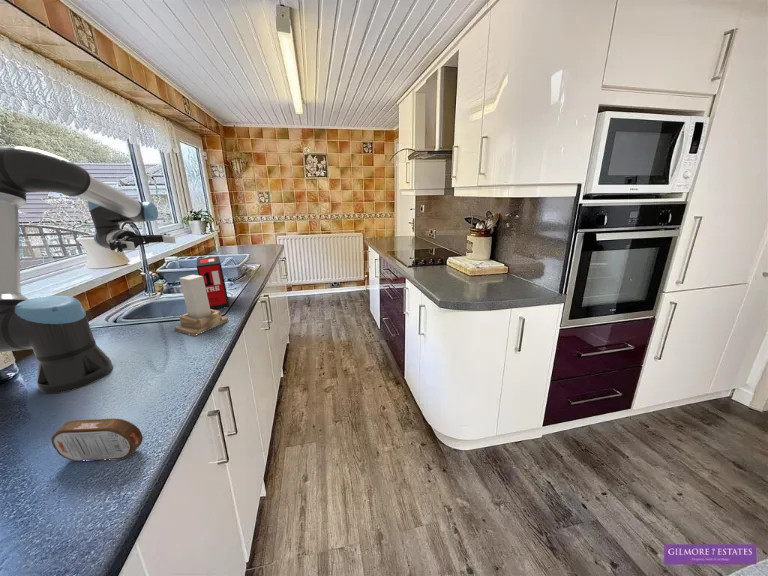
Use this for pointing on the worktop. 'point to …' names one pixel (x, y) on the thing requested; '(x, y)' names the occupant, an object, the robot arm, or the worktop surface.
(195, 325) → the wooden box
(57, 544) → the worktop surface
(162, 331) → the worktop surface
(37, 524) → the worktop surface
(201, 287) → the white rectangular block
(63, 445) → the tin
